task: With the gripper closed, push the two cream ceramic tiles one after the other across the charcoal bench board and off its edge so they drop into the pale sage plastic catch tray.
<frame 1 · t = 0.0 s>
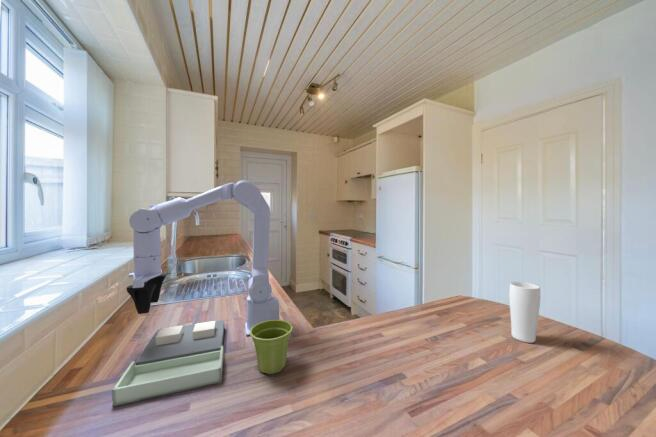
hand: (148, 307, 64), 10 cm above the counter, fingers open, 7 cm apart
catch tray: (175, 378, 52), on the counter
plant pot: (271, 367, 56), on the counter
bench board: (187, 347, 64), on the counter
tile b: (170, 338, 63), point 2 cm above the counter, touching bench board
tile a: (204, 333, 66), point 2 cm above the counter, touching bench board
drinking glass: (523, 339, 68), on the counter
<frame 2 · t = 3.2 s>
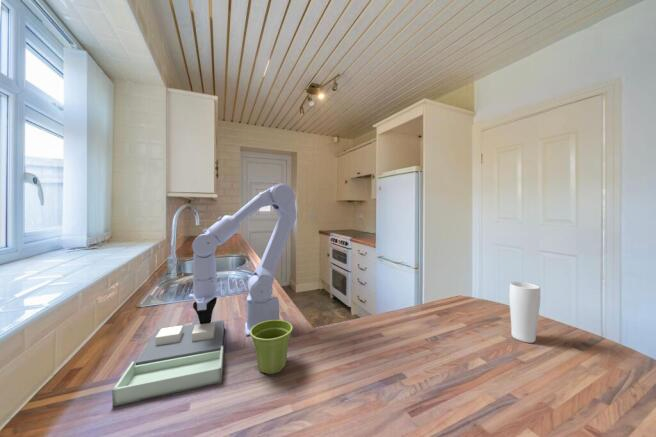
hand: (205, 326, 68), 3 cm above the counter, fingers closed
tile a: (204, 335, 65), point 2 cm above the counter, touching bench board, gripper
everything else where it was.
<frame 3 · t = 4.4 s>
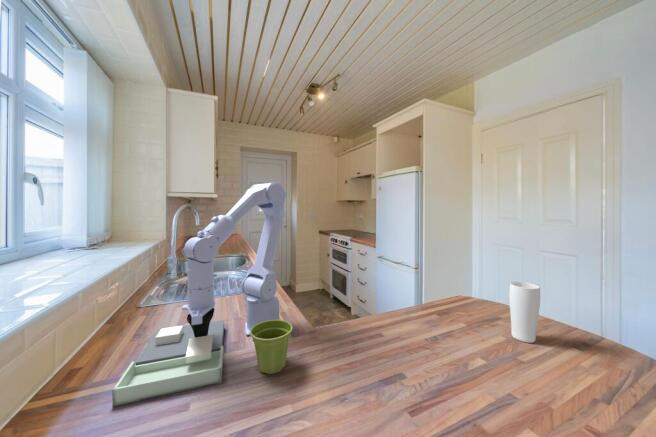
hand: (201, 341, 60), 3 cm above the counter, fingers closed
tile a: (200, 351, 57), point 2 cm above the counter, tilted 21°, touching bench board
everything else where it was.
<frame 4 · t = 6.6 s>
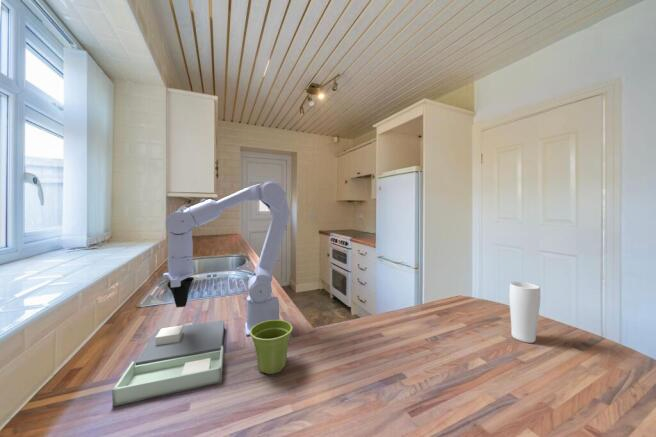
hand: (181, 306, 67), 9 cm above the counter, fingers closed
tile a: (196, 367, 52), point 2 cm above the counter, tilted 180°, touching catch tray
everything else where it was.
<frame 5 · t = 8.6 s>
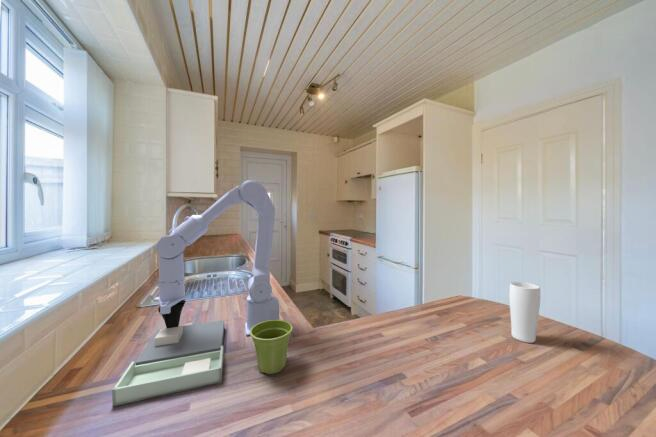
hand: (172, 330, 66), 3 cm above the counter, fingers closed
tile b: (169, 339, 63), point 3 cm above the counter, touching gripper
everything else where it was.
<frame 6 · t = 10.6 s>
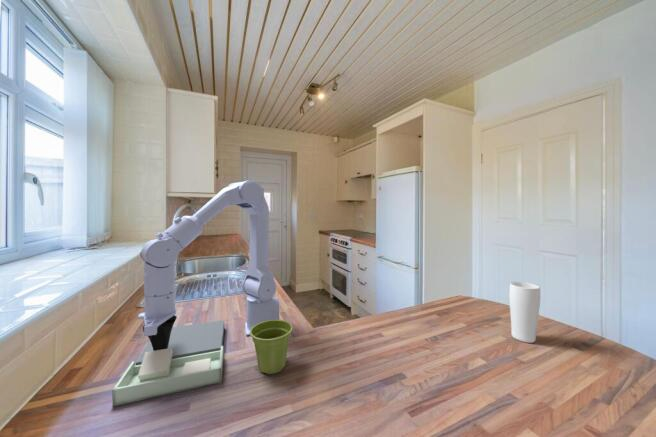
hand: (161, 352, 56), 3 cm above the counter, fingers closed
tile b: (157, 366, 53), point 2 cm above the counter, tilted 29°, touching bench board, catch tray, gripper
everything else where it was.
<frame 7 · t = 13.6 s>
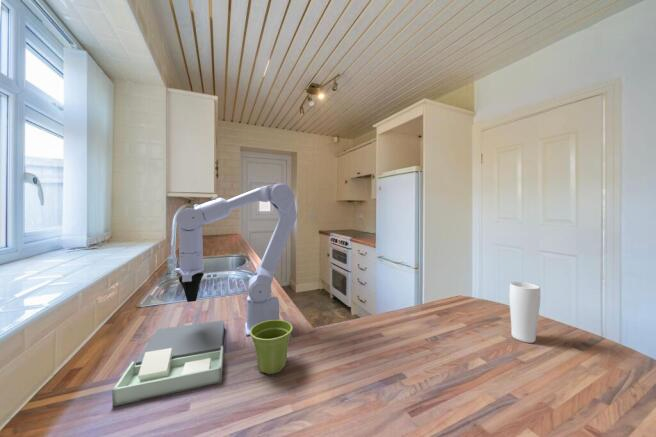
hand: (192, 300, 68), 10 cm above the counter, fingers closed
tile b: (157, 366, 53), point 2 cm above the counter, tilted 29°, touching bench board, catch tray
everything else where it was.
at the end: tile a inside the target area (4.2 cm from its centre), point 2.4 cm above the counter; tile b inside the target area (5.4 cm from its centre), point 1.6 cm above the counter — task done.
